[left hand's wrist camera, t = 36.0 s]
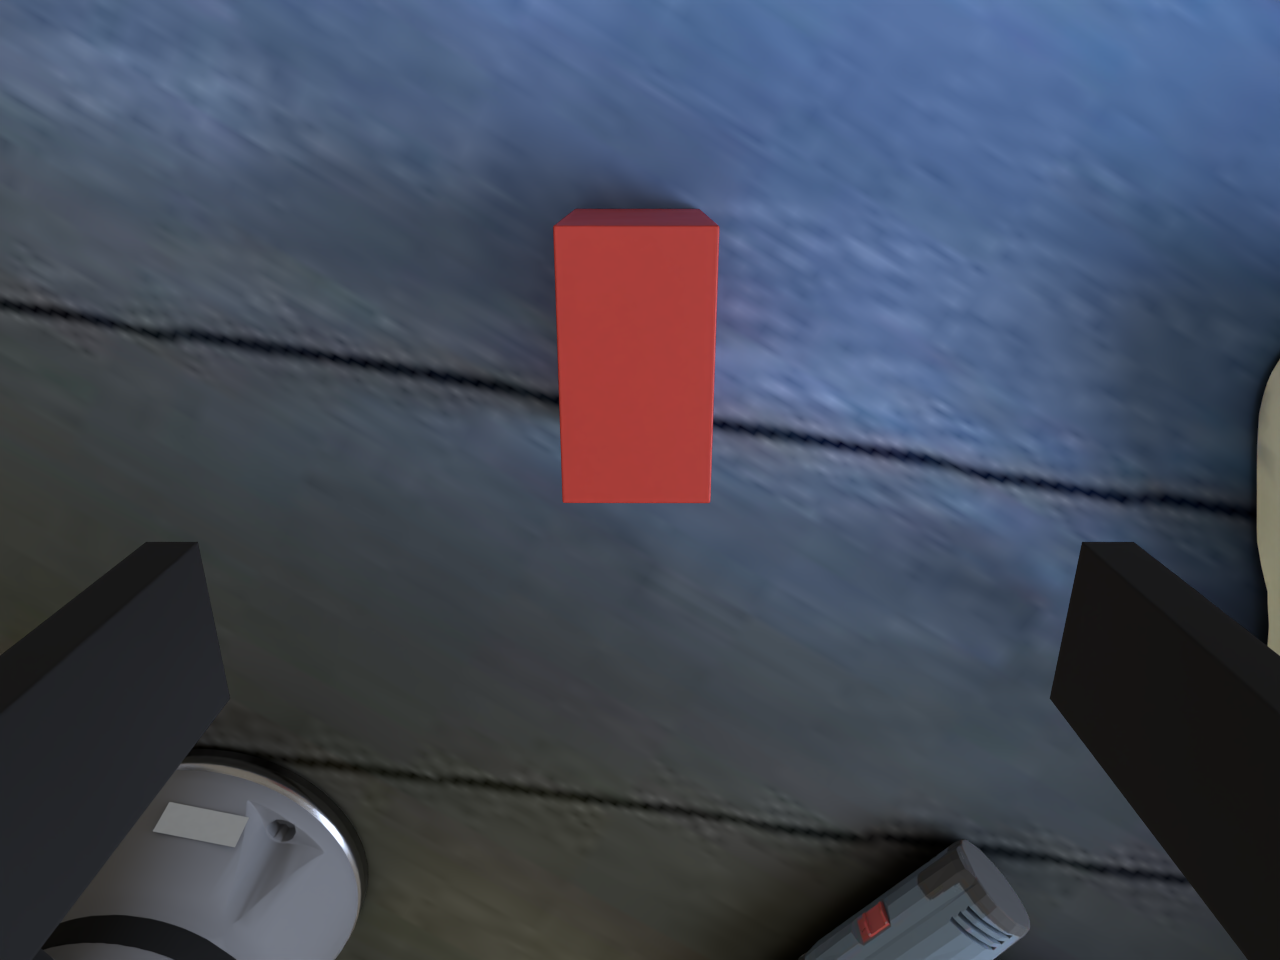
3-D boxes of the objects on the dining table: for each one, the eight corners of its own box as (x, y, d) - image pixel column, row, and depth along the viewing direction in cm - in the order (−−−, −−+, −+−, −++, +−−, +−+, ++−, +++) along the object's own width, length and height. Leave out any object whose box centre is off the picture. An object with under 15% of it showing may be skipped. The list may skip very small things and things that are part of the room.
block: (700, 208, 34) (719, 225, 25) (694, 425, 37) (710, 503, 29) (574, 208, 34) (553, 225, 25) (579, 425, 37) (562, 503, 29)
